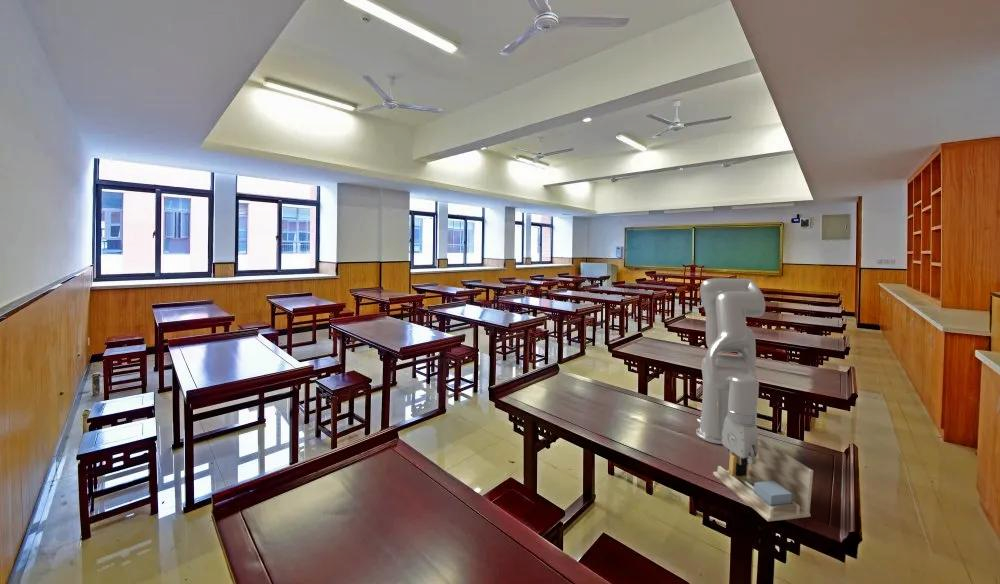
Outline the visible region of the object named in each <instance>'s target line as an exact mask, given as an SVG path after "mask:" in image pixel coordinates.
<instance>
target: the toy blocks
mask: <svg viewBox="0 0 1000 584" xmlns="http://www.w3.org/2000/svg"><path fill="white" fill-rule="evenodd" d="M743 459H745V458H743ZM736 463H738V456H737V455H736V454H730V457H729V464H728V465H729V466H728V470H729V473H730V474H731V475H732V476H733V477H735V478H736V479H737V480H739V479H740V480H741V481H742V482H744V483H745V484H746V485H747V486H749V487H750V488H751V489H753V490H754V493H755V494H756V495H757V496H758V497H759V498H761V499H762V500H763V501H764V502H766V503H767V504H768V505H769V506H777V505H786V504H791V495H792V493H790V492H789V491H787V490H786V489H785V488H783V487H782V486H780V485H779V484H778V483H776V482H775V481H765V482H755V483H754V487H753V486H752V485H751V484H749V483H748V482H747V481H745V480H744V479H747V472H746V476H736ZM748 468H749V464H747V471H748Z"/></svg>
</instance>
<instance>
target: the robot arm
mask: <svg viewBox="0 0 1000 584" xmlns="http://www.w3.org/2000/svg"><path fill="white" fill-rule="evenodd" d="M699 288H700V289H699V295H700V301H701V303H702V306H703V309H704V311H705V342H706V343H705V344H706V346H707V348H708V349H707V351H706V354H705V356H704V357H703V358H702V360H701V365H700V366H701V373H702V374H701V375H702V401H701V416H700V418H697V419H696V421H697V423H698V424H699V427H698V428H696V429H695V435H696V436H697V437H698V438H700V439H701V440H703V441H706V442H708V443H711V444H716V445H722V446H724V447H725V448H726V449H727V450H728V454H729V457H728V458H730V454H736V455H737V456H738V463H736V476H746V472H747V464H748V465H749V464H756V460H755V457H756V456H757V452H758V437H759V436H758V426H757V416H758V414H757V413H758V402H759V389H760V388H759V387H760V383H759V380H758V376H757V373H756V372H757V355H756V354H757V349H756V346H757V345H756V337H755V334H754V333H755V332H754V331H753V330H752V329H751V328H749V327H748V326H747V317H752V318H754V317H755V318H757V317H758V318H759V317H762V316H763V315H764V313H765V311H766V300H765V298H764V294H763V292H762V291H761V289H760V288H759V286H758V284H757V283H756V281H754V280H753V279H749V278H726V277H724V278H723V277H719V278H718V277H717V278H715V277H714V278H713V277H712V278H709V279H708V278H707V279H705V280H703V281H702V282H701V284H700V287H699ZM718 352H725V353H727V352H728V353H729V352H731V353H738V354H739V355H727V354H718ZM743 458H745V459H743Z"/></svg>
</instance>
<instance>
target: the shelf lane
mask: <svg viewBox="0 0 1000 584" xmlns="http://www.w3.org/2000/svg"><path fill="white" fill-rule="evenodd" d="M755 460H756V464H748V471H747V479H744V480H745V481H747V482H748V483H749V484H751V485H752V486H753V487H754V483H755V482H765V481H775V482H776V483H778V484H779V485H780V486H782V487H783V488H785V489H786V490H787V491H789V492H790V493H792V495H791V504H786V505H777V506H769V505H768V504H767V503H766V502H764V501H763V500H762V499H761V498H759V497H758V496H757V495H756V494H755V493H754V490H753V489H751V488H750V487H749V486H747V485H746V484H745V483H744V482H742V481H741V480H740V479H739V480H737V479H736V478H735V477H733V476H732V475H731V474H730V473H729V469H727V470H726V469H725V468H724V467H722V466H721V465H717V469H716V470H717V471H713V472H712V475H713V476H715V477H716V478H717V479H718V480H719V481H720V482H721V483H723V484H724V486H726V487H727V488H728V489H729V490H731V491H732V492H733V493H734V494H735V495H737V497H739V498H740V499H741V500H742V501H744V503H745V504H747V505H749V507H751V508H752V510H754V511H756V513H758V515H760V516H761V517H762V518H763V519H764V520H766V521H767V522H775V521H784V520H793V519H800V518H801V519H802V518H809V517H810V518H811V517H812V516H811V515H812V514H811V513H810V512H811V499H812V490H813V476H814V470H813V469H811V468H809V467H808V466H806V465H804V464H803V463H801V462H800V461H798V460H797V459H795V458H794V457H792V456H790V455H789V454H787V453H786V452H784V451H782V450H780V449H779V448H778V447H776V446H774V445H772V444H770V443H769V442H768V441H766V440H764V439H762V438H761V437H759V436H758V452H757V456H756V457H755Z"/></svg>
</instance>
